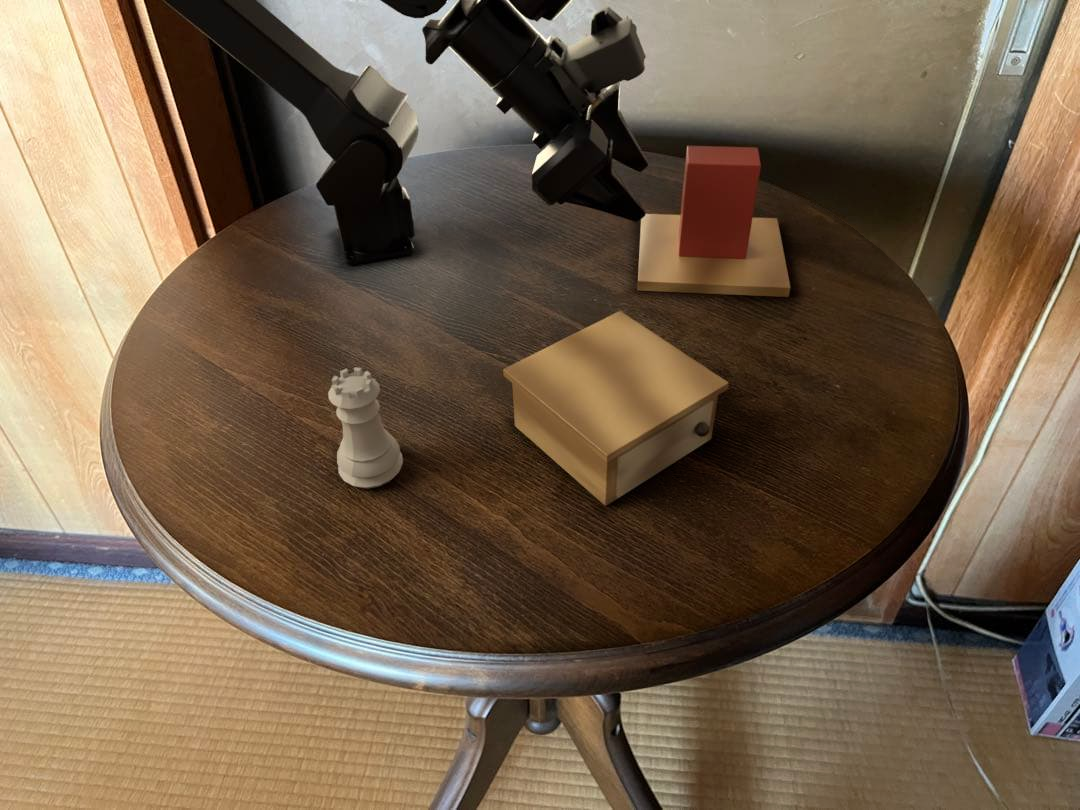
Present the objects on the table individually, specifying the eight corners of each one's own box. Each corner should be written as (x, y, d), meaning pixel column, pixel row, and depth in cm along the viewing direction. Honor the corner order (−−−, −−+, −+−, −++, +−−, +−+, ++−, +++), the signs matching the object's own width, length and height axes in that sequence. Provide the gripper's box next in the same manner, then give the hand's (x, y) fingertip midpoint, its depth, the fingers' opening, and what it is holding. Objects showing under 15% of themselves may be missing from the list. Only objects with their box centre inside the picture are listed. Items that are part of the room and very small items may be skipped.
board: (637, 290, 73) (638, 281, 72) (640, 222, 82) (641, 213, 81) (788, 297, 72) (790, 287, 71) (775, 227, 81) (777, 218, 80)
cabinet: (612, 519, 54) (614, 462, 50) (506, 425, 61) (502, 369, 57) (727, 445, 59) (737, 387, 55) (617, 365, 65) (620, 310, 62)
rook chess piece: (384, 499, 55) (364, 410, 50) (326, 482, 57) (301, 393, 51) (415, 454, 59) (399, 366, 53) (360, 439, 60) (339, 351, 55)
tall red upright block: (746, 259, 75) (761, 165, 69) (678, 256, 75) (687, 163, 69) (743, 239, 77) (757, 147, 71) (678, 237, 78) (687, 145, 72)
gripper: (576, 25, 56) (721, 184, 62) (595, -47, 70) (712, 88, 76) (469, 134, 62) (611, 269, 68) (506, 48, 76) (622, 166, 82)
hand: (643, 191), depth 73 cm, fingers open, 9 cm apart
